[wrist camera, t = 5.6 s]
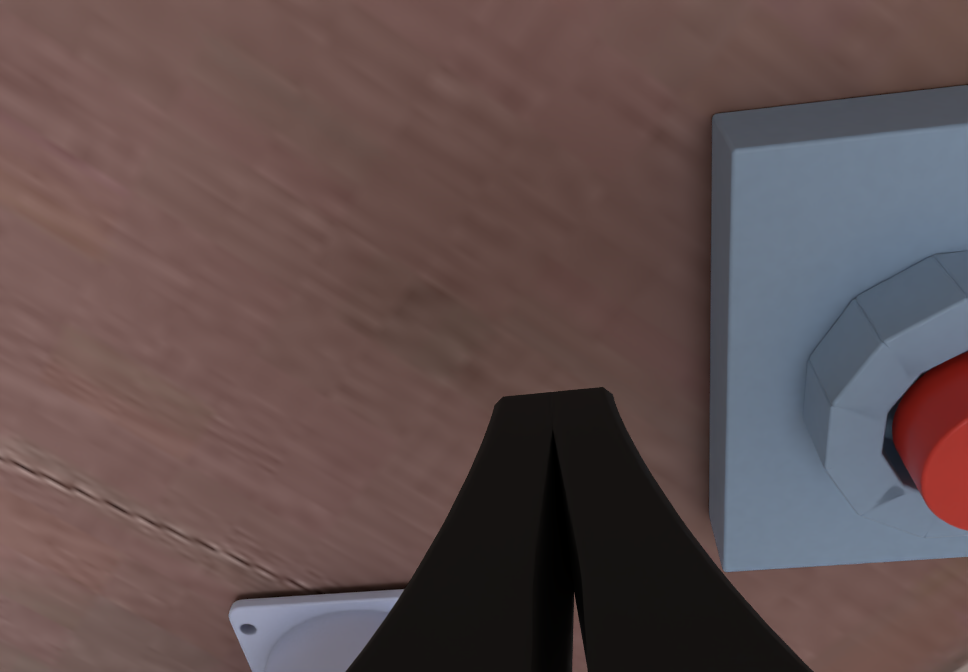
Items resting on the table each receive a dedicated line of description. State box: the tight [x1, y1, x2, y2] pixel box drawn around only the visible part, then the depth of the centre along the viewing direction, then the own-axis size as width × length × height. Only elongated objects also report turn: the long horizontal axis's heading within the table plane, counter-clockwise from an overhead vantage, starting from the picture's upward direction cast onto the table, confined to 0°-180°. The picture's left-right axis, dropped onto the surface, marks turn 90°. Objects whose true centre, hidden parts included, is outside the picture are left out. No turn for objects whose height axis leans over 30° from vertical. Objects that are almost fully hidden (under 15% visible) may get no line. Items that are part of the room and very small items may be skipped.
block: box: [709, 85, 968, 572], centre depth 20 cm, size 12×10×4 cm
